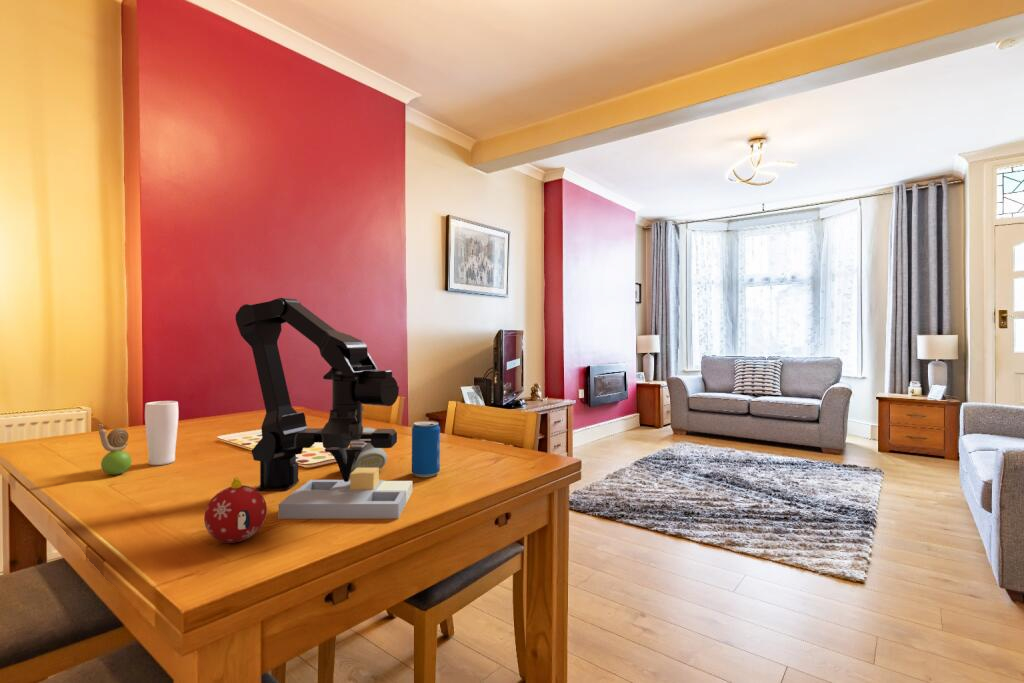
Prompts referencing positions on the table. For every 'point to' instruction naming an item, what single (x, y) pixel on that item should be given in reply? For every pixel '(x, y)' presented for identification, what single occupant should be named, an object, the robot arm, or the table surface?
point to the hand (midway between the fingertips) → (346, 481)
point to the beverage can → (425, 448)
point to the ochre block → (364, 478)
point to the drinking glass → (161, 431)
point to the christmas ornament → (235, 513)
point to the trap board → (346, 500)
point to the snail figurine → (115, 451)
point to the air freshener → (371, 455)
